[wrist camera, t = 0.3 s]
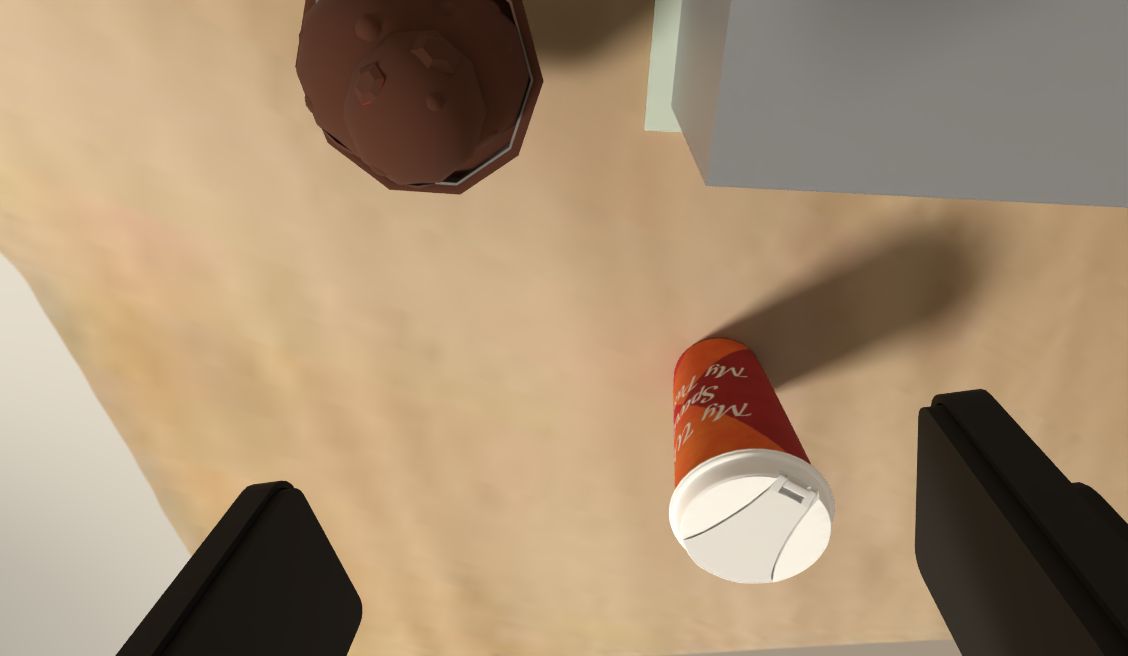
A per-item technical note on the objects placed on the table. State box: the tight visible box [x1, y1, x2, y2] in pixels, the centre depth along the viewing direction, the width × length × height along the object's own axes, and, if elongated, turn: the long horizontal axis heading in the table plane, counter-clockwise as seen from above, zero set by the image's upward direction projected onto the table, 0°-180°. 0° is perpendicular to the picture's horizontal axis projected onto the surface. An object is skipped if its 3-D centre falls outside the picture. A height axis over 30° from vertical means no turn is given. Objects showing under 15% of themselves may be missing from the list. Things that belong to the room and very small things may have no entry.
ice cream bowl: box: [295, 0, 543, 194], centre depth 29 cm, size 11×11×15 cm
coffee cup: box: [669, 338, 835, 583], centre depth 38 cm, size 8×8×15 cm
